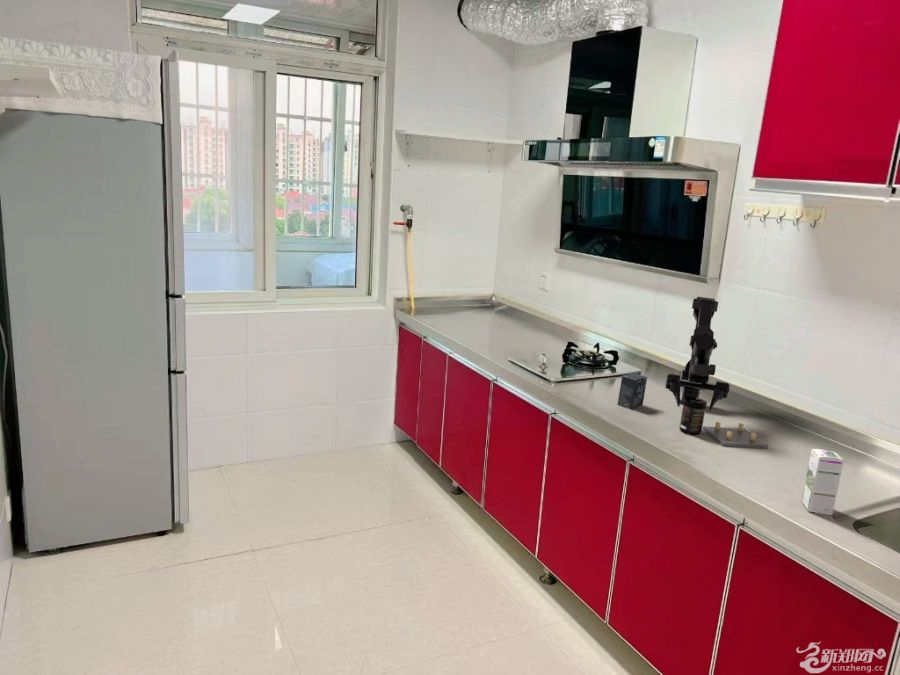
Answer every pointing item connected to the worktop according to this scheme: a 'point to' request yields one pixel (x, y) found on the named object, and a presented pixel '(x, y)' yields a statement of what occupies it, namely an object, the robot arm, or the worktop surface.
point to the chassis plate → (734, 436)
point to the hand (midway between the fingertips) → (694, 408)
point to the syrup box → (822, 481)
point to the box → (632, 390)
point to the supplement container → (692, 415)
